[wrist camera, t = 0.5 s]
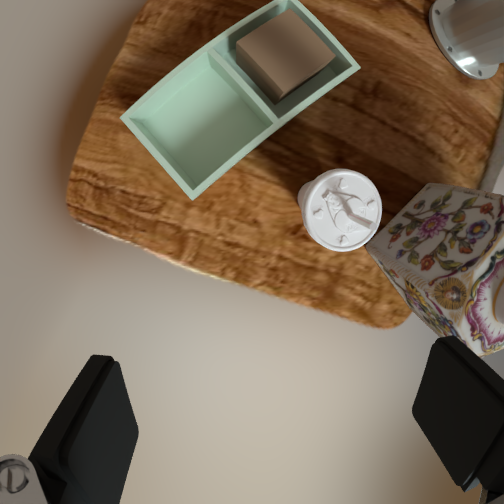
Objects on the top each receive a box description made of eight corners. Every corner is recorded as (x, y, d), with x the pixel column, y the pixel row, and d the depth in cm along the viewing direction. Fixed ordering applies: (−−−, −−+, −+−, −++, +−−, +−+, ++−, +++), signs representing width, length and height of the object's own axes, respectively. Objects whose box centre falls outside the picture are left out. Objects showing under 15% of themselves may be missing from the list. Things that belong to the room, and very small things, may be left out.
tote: (281, 13, 27) (288, -8, 22) (344, 80, 29) (361, 67, 24) (136, 124, 29) (119, 117, 25) (198, 195, 32) (192, 200, 27)
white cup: (318, 240, 34) (369, 288, 20) (271, 203, 32) (297, 230, 19) (355, 194, 33) (426, 214, 19) (310, 155, 31) (361, 148, 18)
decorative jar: (428, 178, 32) (546, 199, 15) (467, 248, 35) (567, 297, 18) (359, 247, 34) (454, 317, 17) (407, 311, 37) (491, 393, 19)
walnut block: (280, 32, 27) (290, 8, 21) (318, 73, 28) (335, 55, 23) (235, 63, 28) (236, 41, 22) (274, 105, 29) (283, 92, 23)
